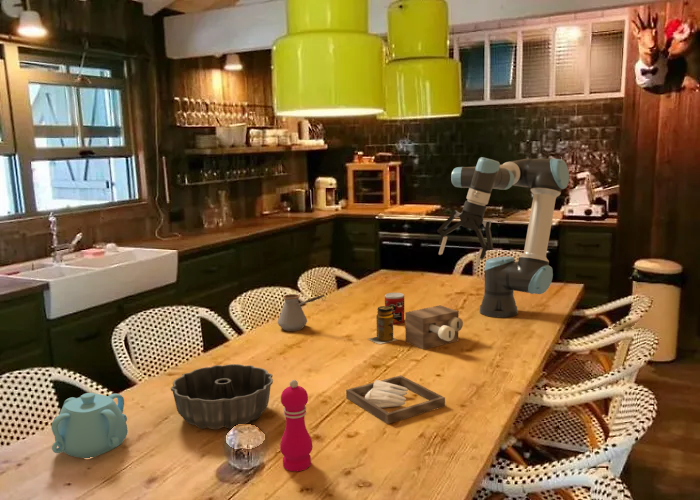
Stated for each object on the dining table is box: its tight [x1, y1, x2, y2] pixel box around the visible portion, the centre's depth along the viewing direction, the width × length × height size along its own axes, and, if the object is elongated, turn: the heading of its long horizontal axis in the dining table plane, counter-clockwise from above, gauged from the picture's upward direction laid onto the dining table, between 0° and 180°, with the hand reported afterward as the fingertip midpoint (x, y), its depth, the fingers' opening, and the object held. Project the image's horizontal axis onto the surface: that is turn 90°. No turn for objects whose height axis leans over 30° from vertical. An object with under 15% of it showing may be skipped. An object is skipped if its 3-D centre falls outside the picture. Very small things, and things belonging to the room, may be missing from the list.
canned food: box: [384, 292, 405, 325], centre depth 249 cm, size 8×8×11 cm
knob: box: [429, 324, 455, 341], centre depth 215 cm, size 5×15×5 cm, turn 32°
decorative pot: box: [51, 392, 129, 459], centre depth 149 cm, size 16×16×14 cm
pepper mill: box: [279, 379, 314, 472], centre depth 139 cm, size 7×7×20 cm
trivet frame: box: [345, 374, 446, 425], centre depth 173 cm, size 19×20×2 cm
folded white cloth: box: [364, 379, 408, 409], centre depth 173 cm, size 12×4×11 cm
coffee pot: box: [277, 293, 327, 332], centre depth 240 cm, size 21×12×15 cm, turn 58°
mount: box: [404, 304, 464, 350], centre depth 222 cm, size 16×13×11 cm
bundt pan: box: [170, 363, 274, 430], centre depth 166 cm, size 26×26×10 cm
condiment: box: [368, 305, 399, 345], centre depth 226 cm, size 7×8×12 cm
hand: (458, 260), depth 220 cm, fingers open, 13 cm apart
